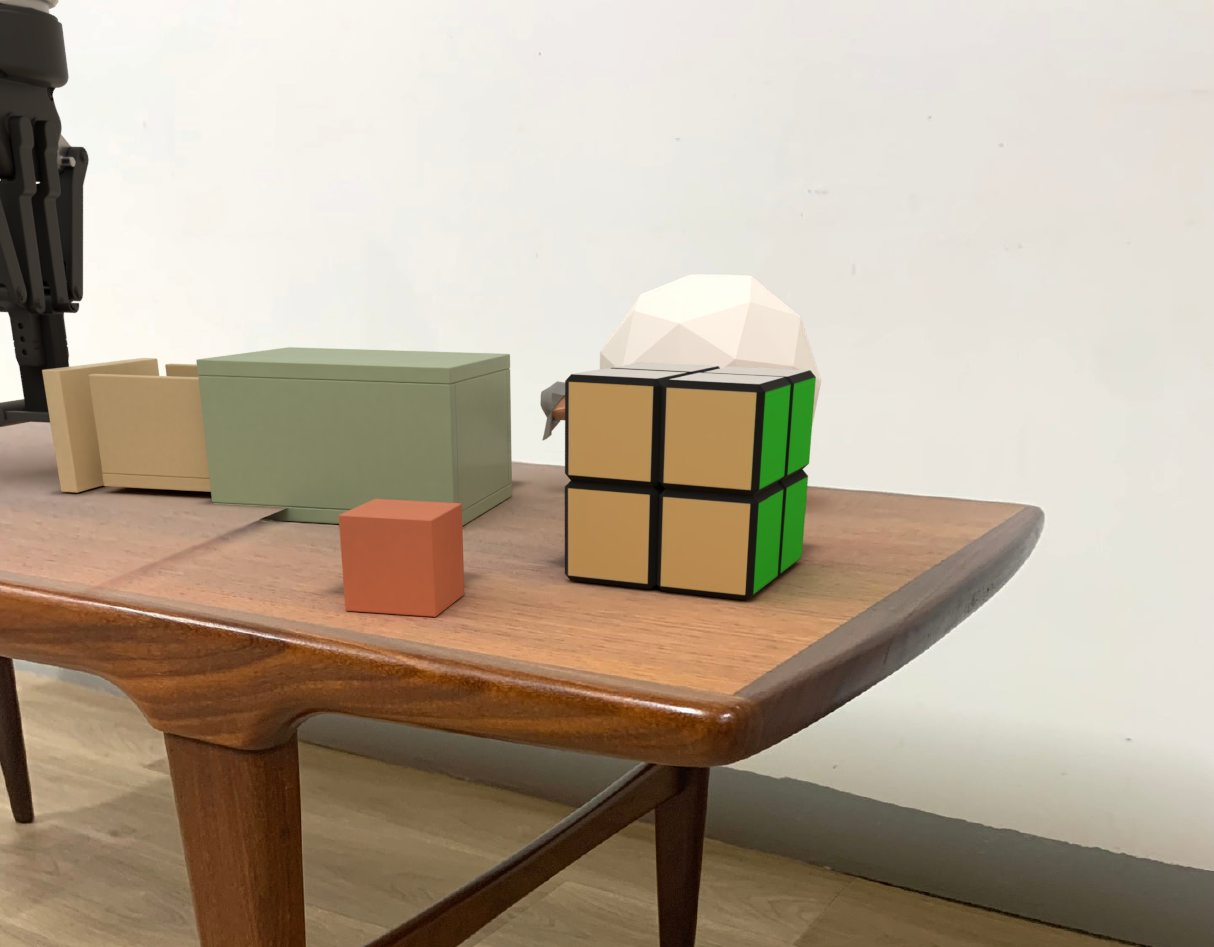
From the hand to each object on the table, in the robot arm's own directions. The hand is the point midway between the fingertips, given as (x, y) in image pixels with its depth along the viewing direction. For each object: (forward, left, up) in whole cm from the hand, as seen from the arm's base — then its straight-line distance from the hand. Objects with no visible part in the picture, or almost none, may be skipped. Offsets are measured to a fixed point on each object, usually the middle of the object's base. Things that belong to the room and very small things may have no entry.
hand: (51, 416), depth 84 cm
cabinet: (+22, 0, -5) cm, 23 cm away
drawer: (+8, 0, -4) cm, 9 cm away
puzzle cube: (+45, -13, -5) cm, 48 cm away
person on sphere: (+41, +10, -5) cm, 43 cm away
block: (+33, -23, -5) cm, 41 cm away
